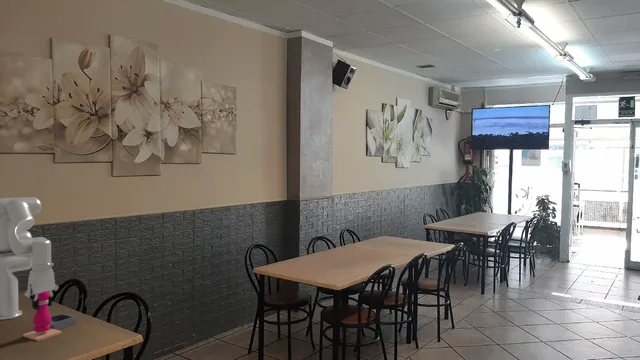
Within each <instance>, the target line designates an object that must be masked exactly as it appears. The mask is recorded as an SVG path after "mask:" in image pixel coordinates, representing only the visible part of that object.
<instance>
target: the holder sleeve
mask: <svg viewBox="0 0 640 360" xmlns="http://www.w3.org/2000/svg"><path fill="white" fill-rule="evenodd" d="M76 317H77V316H74V315H70V314H66V313H59V314H55V315H51V322H50V323H49V324H50V328H52V329H56V330H62V329H64V328H68V327H70V326H74V325H76V324H77V322H76V321H77V318H76Z"/></svg>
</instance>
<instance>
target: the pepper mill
mask: <svg viewBox="0 0 640 360" xmlns="http://www.w3.org/2000/svg"><path fill="white" fill-rule="evenodd" d="M49 296H50V292H49V291H44V292H42V293H40V294H38V298H37V300H38V309H37V310H36V309H35V310H36V311H35V314H34V315H33V319H32V323H33V324H34V327H33V331H35V332H44V331H48V330H50V324H49V323H50V322H51V316H52V315H51V314H50V312H49V311H50V310H49V308H48V307H49V306H48V305H47V304H48V298H49Z"/></svg>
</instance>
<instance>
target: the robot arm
mask: <svg viewBox="0 0 640 360" xmlns="http://www.w3.org/2000/svg"><path fill="white" fill-rule="evenodd" d="M41 211H42V203H41V201H40V199H38V198H37V197H34V196H33V197H30V196H24V197H5V198H4V197H2V198H0V252H6V253H2V254H0V321H2V320H10V319H14V318H17V317H20V316H22V315H23V311H22V310H20V309H19V279H18V278H17V277H16V275H14V274H13V273H15V272H20V271H26V270H30V269H31V270H30V271H29V275H28V280H27V281H28V282H27V290H26V291H25V292H24V296H25V297H27V299H28V298H29V299H30V300H31V304H32V305H31V307H32V309H33V310H37V309H38V300H37V298H38V294H40V293H42V292H44V291H49V292H50V296H49V298H48V304H47V307H51V306H52V303H53V297H54V294H56V291H58V290H59V288H60V287H59V285H57V284H56V279H55V272H54V270H53V268H52V267H53V266H54V265H55V263H54V262H52V243H51V242H52V241H51V240H49V239H47V238H46V237H43V236H39V237H38V236H37V237H33V235H32V233H31V232H30V231H28V230H30V229H31V228H32V227H33V226H34V225H35V218H34V216H33V215H38V214H40V212H41ZM8 251H9V253H7V252H8ZM10 251H12V252H10Z"/></svg>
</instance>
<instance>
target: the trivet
mask: <svg viewBox="0 0 640 360" xmlns="http://www.w3.org/2000/svg"><path fill="white" fill-rule="evenodd" d="M61 334H63V331H62V330H60V329H58V330H56V329H52V328H50V330H48V331H44V332H35V331H34V330H33V331H29V332H26V333H24V334H23V338H27V339H29V340H33V341H36V342H39V341H43V340H45V339H50V338H52V337H55V336H58V335H61Z"/></svg>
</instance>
